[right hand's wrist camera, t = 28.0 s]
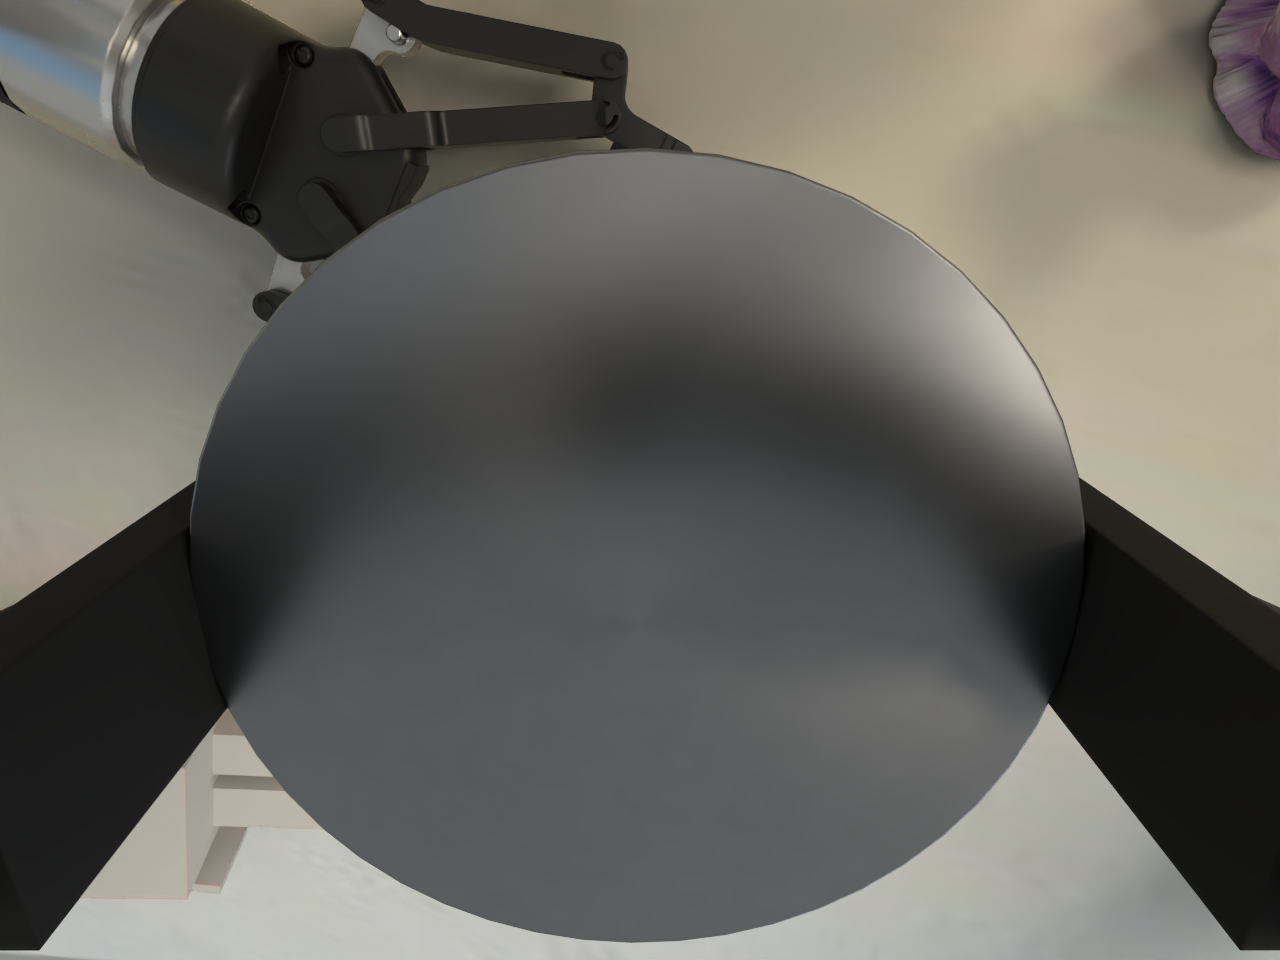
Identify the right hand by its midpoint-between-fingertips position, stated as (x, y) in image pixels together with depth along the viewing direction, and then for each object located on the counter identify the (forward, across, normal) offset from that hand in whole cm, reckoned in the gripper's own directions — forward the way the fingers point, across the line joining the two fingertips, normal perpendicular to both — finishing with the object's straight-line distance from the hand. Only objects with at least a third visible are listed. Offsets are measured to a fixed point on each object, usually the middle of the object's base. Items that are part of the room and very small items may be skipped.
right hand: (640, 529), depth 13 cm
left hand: (+22, -2, +2) cm, 22 cm away
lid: (-3, 0, 0) cm, 3 cm away
